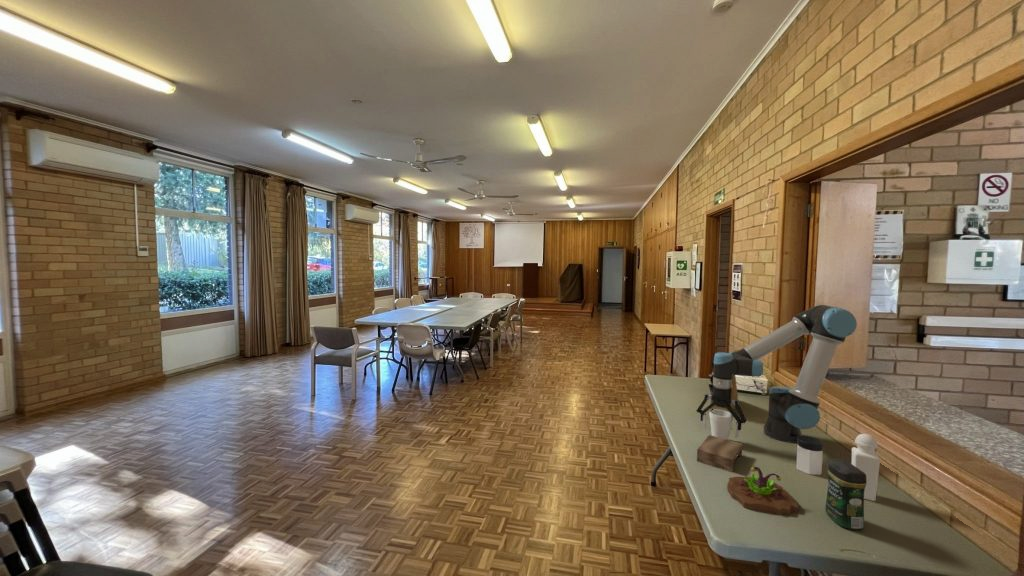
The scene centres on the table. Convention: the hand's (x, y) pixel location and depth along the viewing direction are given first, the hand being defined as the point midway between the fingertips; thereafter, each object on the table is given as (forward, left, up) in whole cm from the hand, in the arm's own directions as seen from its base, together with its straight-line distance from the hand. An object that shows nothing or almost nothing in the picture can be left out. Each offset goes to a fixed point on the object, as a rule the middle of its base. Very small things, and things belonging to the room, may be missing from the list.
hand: (719, 432), depth 181 cm
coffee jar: (-44, +37, -4) cm, 58 cm away
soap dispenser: (-49, +14, -4) cm, 51 cm away
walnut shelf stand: (-4, +18, -4) cm, 19 cm away
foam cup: (0, 0, -4) cm, 4 cm away
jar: (-33, +5, -4) cm, 34 cm away
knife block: (+9, -48, -4) cm, 49 cm away
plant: (-22, +39, -5) cm, 45 cm away
